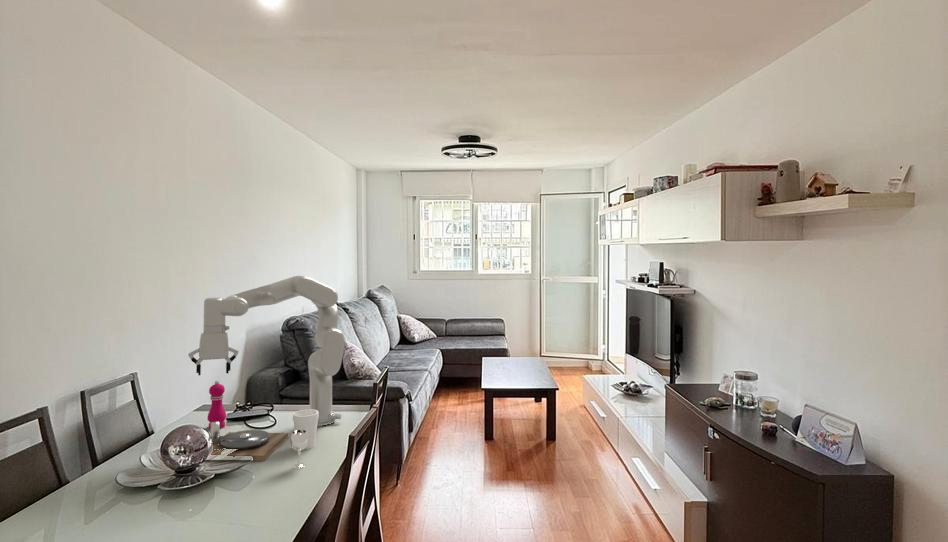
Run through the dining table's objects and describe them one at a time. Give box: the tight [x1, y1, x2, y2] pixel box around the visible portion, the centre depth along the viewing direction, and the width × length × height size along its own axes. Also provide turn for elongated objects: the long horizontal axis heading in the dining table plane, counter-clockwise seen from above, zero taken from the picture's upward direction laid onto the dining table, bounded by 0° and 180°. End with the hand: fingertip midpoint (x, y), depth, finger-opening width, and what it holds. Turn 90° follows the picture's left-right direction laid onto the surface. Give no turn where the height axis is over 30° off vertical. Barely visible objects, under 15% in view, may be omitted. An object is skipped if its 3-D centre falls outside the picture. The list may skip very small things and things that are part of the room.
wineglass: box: [289, 430, 308, 470], centre depth 178 cm, size 6×6×12 cm
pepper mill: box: [207, 380, 227, 430], centre depth 218 cm, size 7×7×20 cm
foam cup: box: [292, 408, 319, 450], centre depth 197 cm, size 10×9×13 cm
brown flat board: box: [211, 431, 289, 462], centre depth 194 cm, size 26×24×2 cm
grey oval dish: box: [210, 421, 270, 449], centre depth 194 cm, size 22×17×7 cm
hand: (213, 373), depth 198 cm, fingers open, 9 cm apart
